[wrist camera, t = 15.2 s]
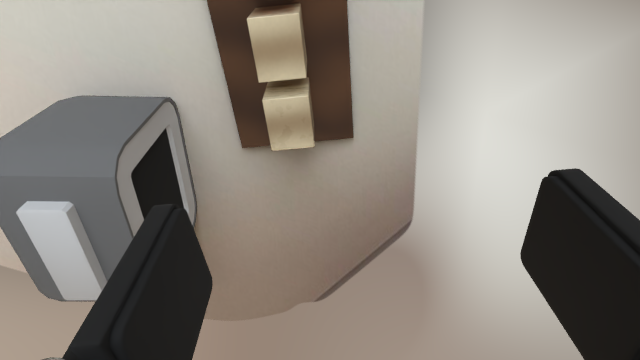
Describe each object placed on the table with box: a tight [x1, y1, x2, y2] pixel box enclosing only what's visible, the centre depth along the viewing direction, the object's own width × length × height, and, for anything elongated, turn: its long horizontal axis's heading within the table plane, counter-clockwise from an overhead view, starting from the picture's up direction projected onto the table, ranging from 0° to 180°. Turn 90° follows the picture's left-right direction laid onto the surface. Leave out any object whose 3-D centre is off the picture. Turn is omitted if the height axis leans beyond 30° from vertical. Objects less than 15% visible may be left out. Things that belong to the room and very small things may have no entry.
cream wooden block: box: [247, 3, 307, 83], centre depth 31 cm, size 5×4×5 cm
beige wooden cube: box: [262, 77, 314, 151], centre depth 34 cm, size 5×4×5 cm
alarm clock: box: [0, 96, 197, 301], centre depth 34 cm, size 16×11×16 cm
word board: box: [207, 0, 353, 148], centre depth 33 cm, size 22×12×1 cm, turn 5°
